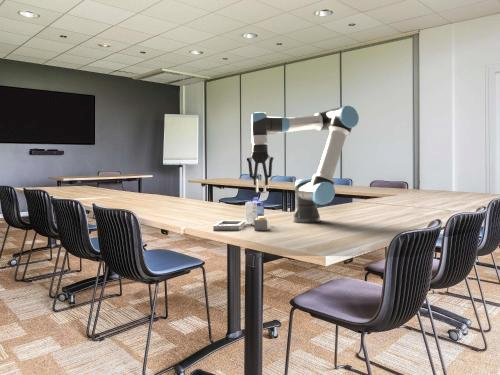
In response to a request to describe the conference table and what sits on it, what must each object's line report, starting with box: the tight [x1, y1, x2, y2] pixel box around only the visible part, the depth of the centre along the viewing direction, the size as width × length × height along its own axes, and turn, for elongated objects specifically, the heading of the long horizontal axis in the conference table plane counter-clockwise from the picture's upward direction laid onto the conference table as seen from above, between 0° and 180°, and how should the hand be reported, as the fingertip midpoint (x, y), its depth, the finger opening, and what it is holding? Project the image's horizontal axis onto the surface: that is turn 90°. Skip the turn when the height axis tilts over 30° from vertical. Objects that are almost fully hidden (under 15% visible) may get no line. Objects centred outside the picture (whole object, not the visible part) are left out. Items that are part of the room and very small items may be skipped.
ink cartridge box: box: [244, 197, 265, 226], centre depth 220 cm, size 10×6×14 cm, turn 41°
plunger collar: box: [254, 217, 270, 231], centre depth 202 cm, size 6×6×5 cm
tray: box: [212, 220, 247, 231], centre depth 210 cm, size 13×17×2 cm
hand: (261, 191), depth 201 cm, fingers open, 3 cm apart
